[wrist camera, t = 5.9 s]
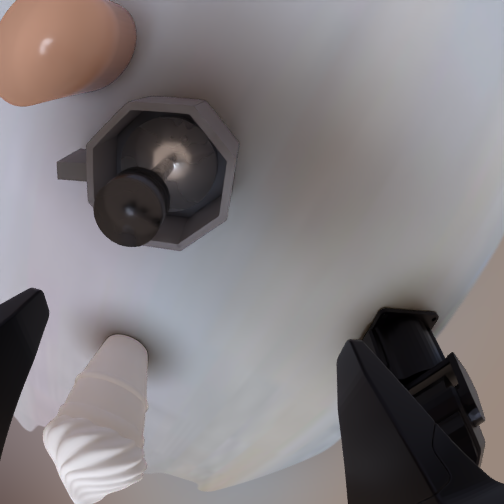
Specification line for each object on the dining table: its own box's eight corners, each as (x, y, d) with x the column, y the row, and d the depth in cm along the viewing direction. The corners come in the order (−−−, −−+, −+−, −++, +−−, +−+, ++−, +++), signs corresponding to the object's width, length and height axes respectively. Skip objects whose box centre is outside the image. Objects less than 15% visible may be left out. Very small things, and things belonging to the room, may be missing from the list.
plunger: (224, 121, 16) (205, 150, 10) (211, 213, 18) (192, 284, 13) (126, 112, 15) (60, 139, 9) (124, 201, 18) (72, 264, 12)
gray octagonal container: (245, 105, 16) (244, 112, 13) (226, 226, 20) (221, 257, 17) (86, 95, 15) (54, 102, 12) (87, 207, 19) (61, 232, 16)
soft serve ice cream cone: (109, 302, 23) (37, 483, 10) (187, 354, 26) (160, 528, 13) (76, 342, 26) (20, 481, 13) (141, 384, 29) (111, 520, 16)
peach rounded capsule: (144, -3, 12) (98, -30, 7) (129, 91, 15) (77, 103, 10) (59, 8, 11) (-1, 0, 6) (49, 94, 14) (-14, 111, 9)
